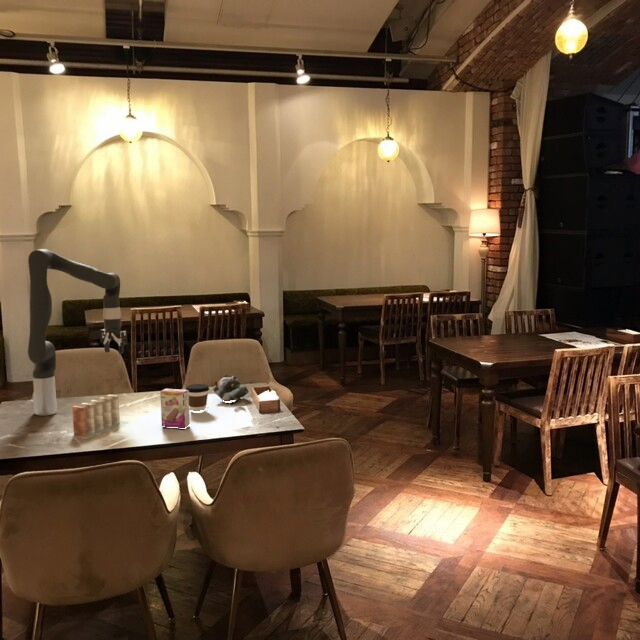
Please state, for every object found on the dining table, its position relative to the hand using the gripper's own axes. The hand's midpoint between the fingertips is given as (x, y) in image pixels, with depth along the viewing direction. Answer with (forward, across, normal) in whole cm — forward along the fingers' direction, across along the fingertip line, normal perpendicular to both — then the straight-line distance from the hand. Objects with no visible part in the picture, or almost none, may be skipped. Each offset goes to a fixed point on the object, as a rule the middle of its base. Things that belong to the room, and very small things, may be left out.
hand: (114, 352), depth 320 cm
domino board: (+28, +10, -23) cm, 38 cm away
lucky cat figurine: (+29, +35, +40) cm, 61 cm away
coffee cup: (+29, +32, +18) cm, 46 cm away
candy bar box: (+29, +38, -6) cm, 48 cm away
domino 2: (+28, +10, -28) cm, 41 cm away
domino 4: (+28, +10, -18) cm, 34 cm away
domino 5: (+28, +10, -13) cm, 32 cm away
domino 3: (+28, +10, -23) cm, 37 cm away
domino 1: (+28, +10, -33) cm, 44 cm away
